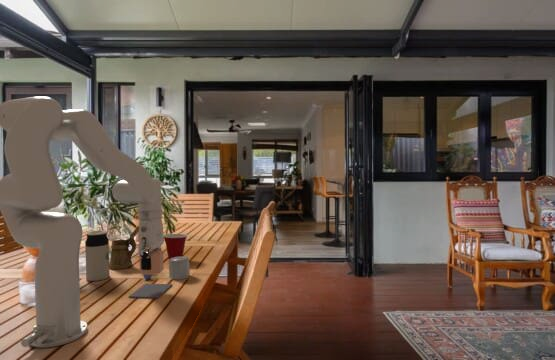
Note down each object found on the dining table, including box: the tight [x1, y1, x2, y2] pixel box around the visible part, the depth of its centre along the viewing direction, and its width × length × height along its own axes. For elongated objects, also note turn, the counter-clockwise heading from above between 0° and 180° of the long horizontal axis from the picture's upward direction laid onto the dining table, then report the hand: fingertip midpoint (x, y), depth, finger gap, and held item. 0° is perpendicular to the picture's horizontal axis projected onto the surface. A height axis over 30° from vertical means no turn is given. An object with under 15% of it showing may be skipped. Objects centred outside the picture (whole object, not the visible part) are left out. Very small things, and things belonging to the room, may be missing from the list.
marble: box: [143, 274, 153, 280], centre depth 129 cm, size 3×3×3 cm
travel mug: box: [84, 229, 110, 282], centre depth 130 cm, size 8×8×18 cm
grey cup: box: [168, 255, 191, 280], centre depth 132 cm, size 7×7×7 cm
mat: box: [128, 283, 173, 299], centre depth 116 cm, size 12×10×1 cm
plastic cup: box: [164, 233, 188, 262], centre depth 154 cm, size 11×11×12 cm
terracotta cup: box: [139, 248, 164, 276], centre depth 116 cm, size 7×7×7 cm
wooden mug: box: [109, 225, 139, 271], centre depth 145 cm, size 9×14×18 cm, turn 92°
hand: (151, 265), depth 116 cm, fingers closed on terracotta cup, 7 cm apart
